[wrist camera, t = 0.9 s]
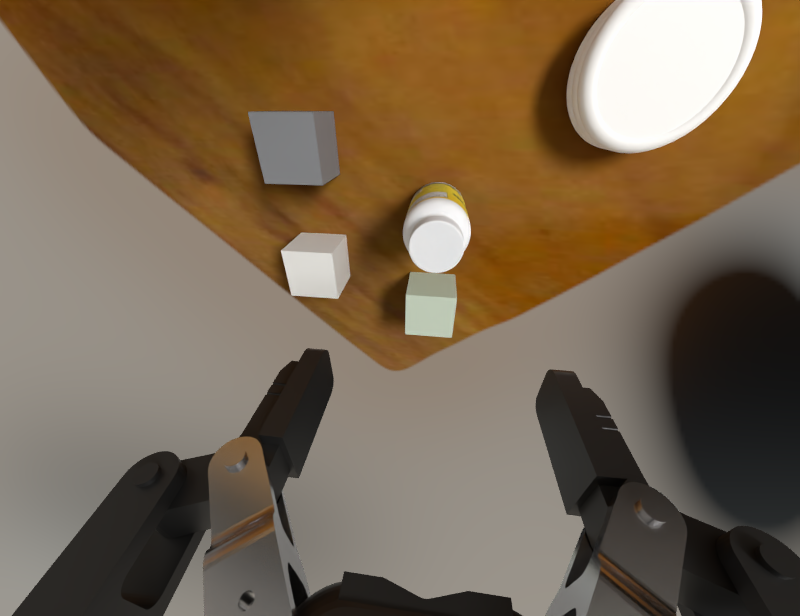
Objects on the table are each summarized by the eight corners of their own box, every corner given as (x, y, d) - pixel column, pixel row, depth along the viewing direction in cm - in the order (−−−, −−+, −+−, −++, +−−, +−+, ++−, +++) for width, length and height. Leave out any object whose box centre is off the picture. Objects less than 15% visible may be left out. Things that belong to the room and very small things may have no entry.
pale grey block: (301, 232, 32) (280, 250, 28) (346, 234, 32) (331, 253, 28) (309, 273, 35) (291, 295, 31) (350, 275, 34) (338, 298, 30)
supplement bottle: (468, 231, 30) (477, 277, 22) (415, 240, 31) (406, 287, 23) (462, 174, 27) (470, 203, 19) (404, 186, 28) (389, 218, 20)
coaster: (716, -72, 18) (769, -107, 15) (726, 98, 22) (769, 96, 19) (546, 47, 22) (562, 38, 19) (582, 172, 26) (600, 181, 23)
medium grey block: (278, 110, 26) (247, 111, 22) (333, 111, 25) (312, 112, 21) (290, 172, 29) (264, 183, 25) (340, 174, 28) (322, 185, 24)
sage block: (410, 271, 33) (405, 294, 29) (455, 274, 33) (457, 298, 29) (409, 308, 36) (405, 334, 32) (450, 311, 36) (451, 337, 31)
